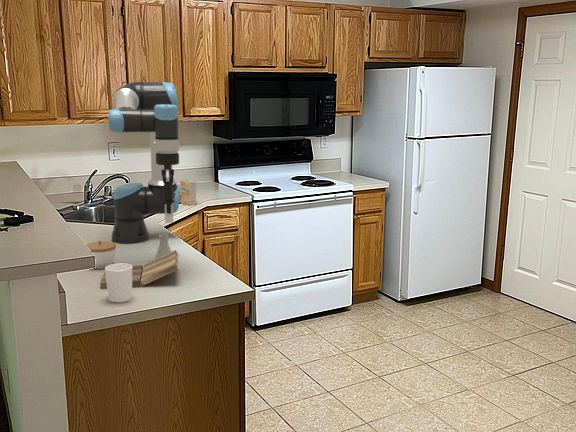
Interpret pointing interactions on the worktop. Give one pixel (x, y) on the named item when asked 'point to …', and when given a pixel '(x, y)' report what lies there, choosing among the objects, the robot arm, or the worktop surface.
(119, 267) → the white cup
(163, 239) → the flask
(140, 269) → the walnut plank
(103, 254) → the lidded jar
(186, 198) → the supplement box
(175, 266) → the oak plank
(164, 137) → the robot arm
